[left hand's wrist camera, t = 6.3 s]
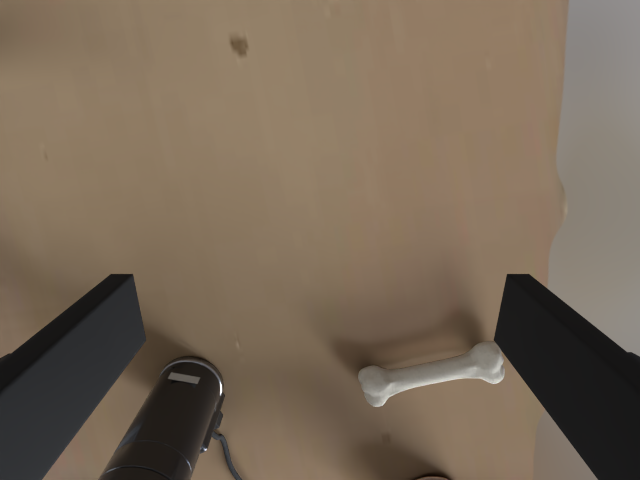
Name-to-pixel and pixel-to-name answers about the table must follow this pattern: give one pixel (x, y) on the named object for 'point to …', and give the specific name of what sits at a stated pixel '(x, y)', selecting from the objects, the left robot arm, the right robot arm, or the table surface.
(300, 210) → the table surface
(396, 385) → the dog toy
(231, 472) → the right robot arm
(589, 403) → the left robot arm
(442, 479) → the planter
